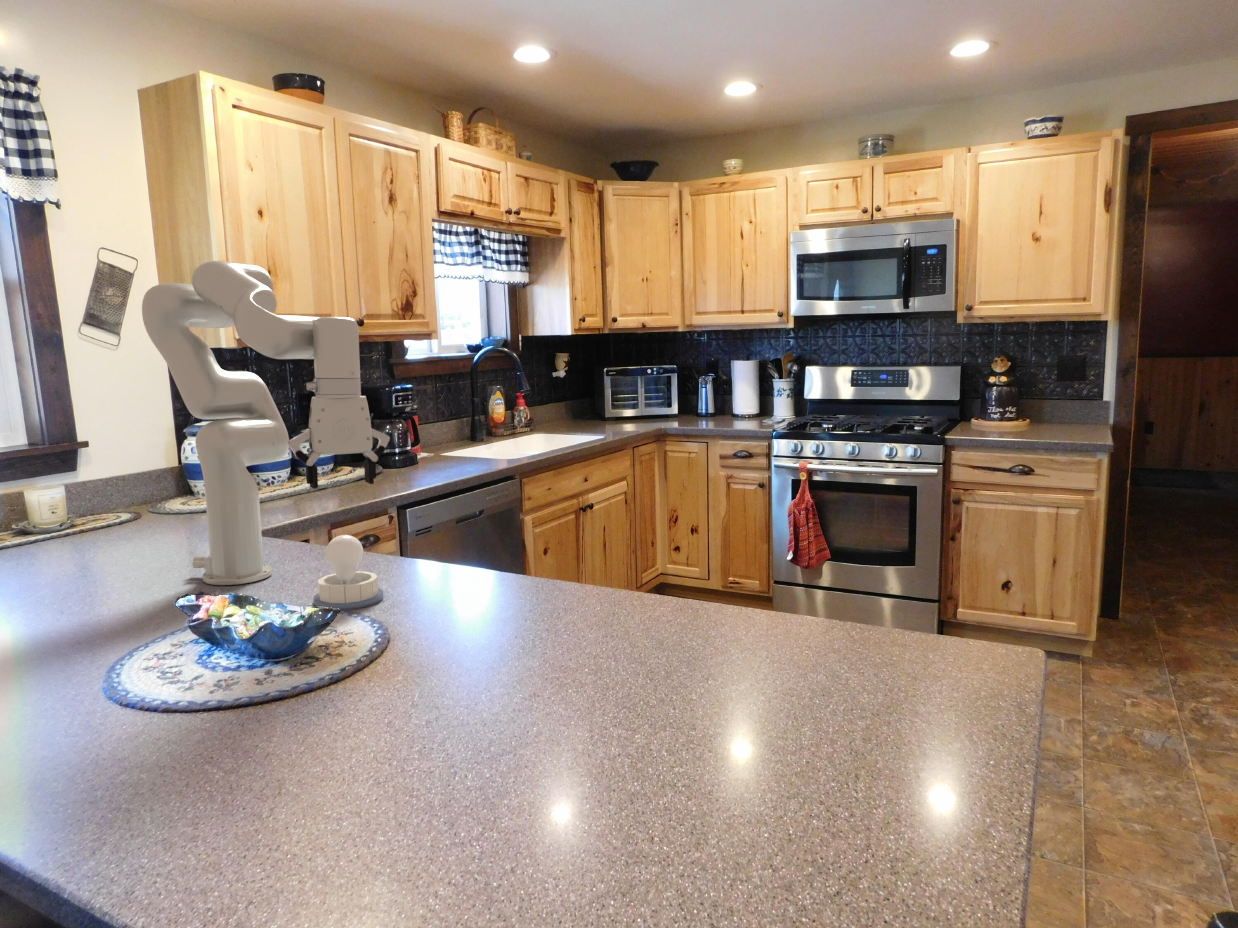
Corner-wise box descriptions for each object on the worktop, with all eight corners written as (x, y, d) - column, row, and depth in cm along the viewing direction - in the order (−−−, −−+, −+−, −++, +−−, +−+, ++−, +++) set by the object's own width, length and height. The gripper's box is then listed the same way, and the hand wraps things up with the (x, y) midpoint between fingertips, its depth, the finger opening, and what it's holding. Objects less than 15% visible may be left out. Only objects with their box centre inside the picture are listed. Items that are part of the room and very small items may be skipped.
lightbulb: (370, 589, 150) (368, 531, 148) (355, 600, 144) (352, 540, 142) (338, 588, 151) (335, 530, 149) (321, 599, 144) (318, 539, 143)
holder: (301, 609, 142) (300, 587, 141) (329, 590, 153) (328, 569, 153) (369, 610, 141) (368, 588, 140) (392, 590, 153) (391, 570, 152)
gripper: (290, 390, 134) (295, 492, 137) (393, 388, 144) (396, 484, 146) (281, 388, 141) (286, 486, 143) (380, 386, 150) (384, 478, 152)
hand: (342, 485), depth 145 cm, fingers open, 9 cm apart
